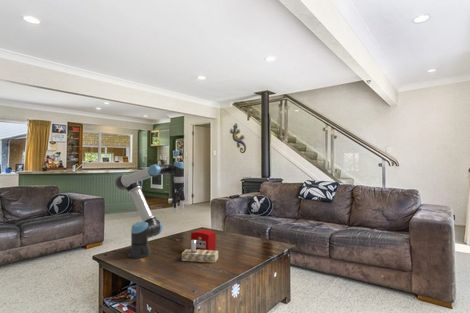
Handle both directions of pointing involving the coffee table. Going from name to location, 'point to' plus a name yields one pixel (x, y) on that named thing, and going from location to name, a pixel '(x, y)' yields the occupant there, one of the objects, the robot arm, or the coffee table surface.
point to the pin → (193, 246)
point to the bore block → (200, 255)
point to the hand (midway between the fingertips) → (178, 210)
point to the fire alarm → (204, 239)
